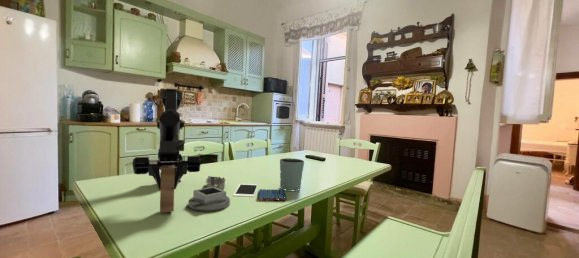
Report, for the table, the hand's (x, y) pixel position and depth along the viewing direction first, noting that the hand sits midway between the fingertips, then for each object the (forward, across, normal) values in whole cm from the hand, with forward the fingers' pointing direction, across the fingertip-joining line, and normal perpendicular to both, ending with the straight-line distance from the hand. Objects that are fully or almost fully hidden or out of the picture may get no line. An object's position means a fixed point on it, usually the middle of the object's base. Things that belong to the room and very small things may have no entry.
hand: (167, 189), depth 75 cm
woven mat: (+1, +35, +11) cm, 37 cm away
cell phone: (-6, +28, +18) cm, 34 cm away
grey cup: (-5, +47, +16) cm, 50 cm away
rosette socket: (+2, +13, +9) cm, 15 cm away
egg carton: (-12, +17, +23) cm, 31 cm away
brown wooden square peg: (+4, 0, +6) cm, 7 cm away
